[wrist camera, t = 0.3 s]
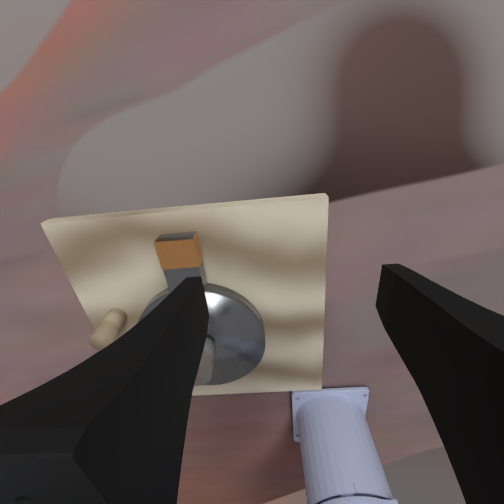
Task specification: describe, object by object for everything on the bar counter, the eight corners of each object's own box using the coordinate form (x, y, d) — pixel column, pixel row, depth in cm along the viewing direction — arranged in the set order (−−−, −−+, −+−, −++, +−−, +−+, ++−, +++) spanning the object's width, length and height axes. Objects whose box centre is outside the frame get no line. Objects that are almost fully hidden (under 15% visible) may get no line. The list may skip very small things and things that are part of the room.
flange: (269, 369, 24) (269, 382, 23) (159, 375, 25) (155, 388, 24) (254, 225, 18) (253, 234, 17) (105, 238, 18) (95, 247, 17)
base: (319, 380, 28) (334, 446, 23) (133, 389, 30) (105, 454, 24) (325, 193, 19) (352, 230, 13) (49, 218, 20) (-27, 261, 15)
